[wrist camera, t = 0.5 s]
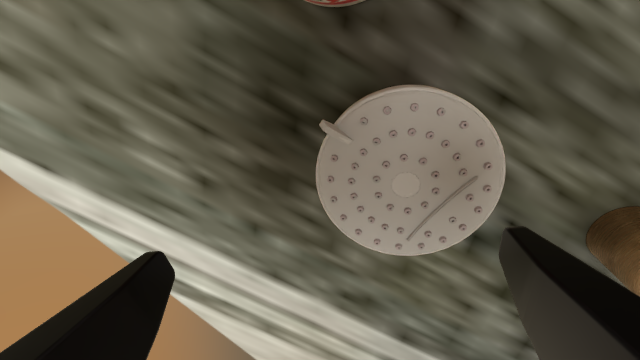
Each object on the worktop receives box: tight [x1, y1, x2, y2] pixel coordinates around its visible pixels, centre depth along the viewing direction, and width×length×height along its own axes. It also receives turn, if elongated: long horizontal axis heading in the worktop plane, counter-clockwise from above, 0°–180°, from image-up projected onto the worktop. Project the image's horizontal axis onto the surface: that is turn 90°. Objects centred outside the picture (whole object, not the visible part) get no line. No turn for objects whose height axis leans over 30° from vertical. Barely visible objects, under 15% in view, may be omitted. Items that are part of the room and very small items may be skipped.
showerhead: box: [316, 85, 506, 256], centre depth 18 cm, size 9×7×10 cm
